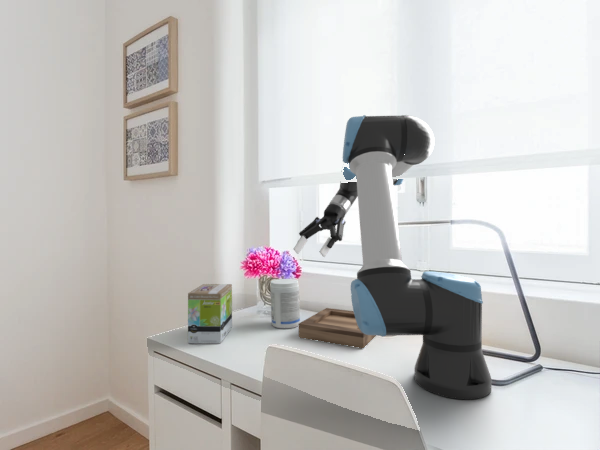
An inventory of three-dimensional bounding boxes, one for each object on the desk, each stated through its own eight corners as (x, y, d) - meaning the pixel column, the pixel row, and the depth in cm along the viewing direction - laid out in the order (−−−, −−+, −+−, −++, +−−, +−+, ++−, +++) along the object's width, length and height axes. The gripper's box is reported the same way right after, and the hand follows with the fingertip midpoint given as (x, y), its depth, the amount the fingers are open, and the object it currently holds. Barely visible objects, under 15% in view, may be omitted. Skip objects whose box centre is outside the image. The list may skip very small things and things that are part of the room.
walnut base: (363, 348, 96) (363, 333, 96) (298, 337, 106) (298, 323, 106) (383, 327, 114) (383, 314, 114) (326, 319, 124) (326, 307, 124)
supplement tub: (304, 322, 121) (303, 279, 121) (292, 330, 112) (292, 284, 112) (279, 319, 125) (278, 277, 125) (265, 327, 116) (265, 282, 116)
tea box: (222, 344, 102) (221, 292, 101) (187, 344, 102) (185, 293, 102) (233, 327, 117) (232, 282, 116) (202, 327, 117) (201, 283, 117)
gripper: (367, 216, 128) (339, 262, 118) (319, 216, 146) (291, 256, 137) (358, 201, 124) (328, 248, 115) (309, 203, 143) (280, 243, 133)
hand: (308, 252), depth 126 cm, fingers open, 13 cm apart
